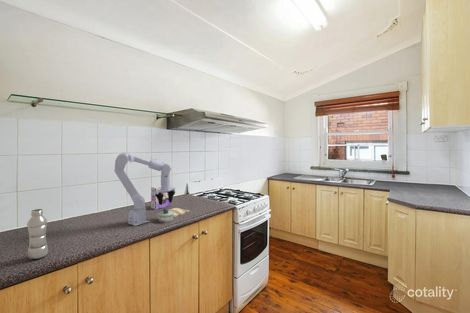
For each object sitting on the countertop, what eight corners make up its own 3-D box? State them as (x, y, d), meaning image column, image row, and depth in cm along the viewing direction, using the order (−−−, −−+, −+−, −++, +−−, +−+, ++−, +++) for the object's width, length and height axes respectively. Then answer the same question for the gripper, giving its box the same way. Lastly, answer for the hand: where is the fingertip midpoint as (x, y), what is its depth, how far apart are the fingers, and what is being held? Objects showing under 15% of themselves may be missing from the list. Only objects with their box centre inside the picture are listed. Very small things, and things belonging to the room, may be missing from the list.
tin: (164, 224, 137) (164, 217, 137) (155, 221, 142) (155, 215, 142) (176, 220, 144) (176, 214, 144) (166, 217, 149) (166, 211, 149)
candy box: (155, 210, 166) (155, 187, 166) (150, 208, 170) (150, 187, 169) (170, 206, 177) (170, 185, 177) (166, 204, 181) (166, 184, 180)
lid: (164, 217, 136) (164, 211, 136) (154, 215, 141) (154, 208, 141) (176, 214, 144) (176, 207, 144) (166, 211, 149) (166, 205, 149)
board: (172, 217, 149) (172, 216, 148) (158, 214, 156) (158, 212, 156) (189, 212, 162) (189, 210, 162) (176, 208, 170) (176, 207, 170)
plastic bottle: (29, 262, 90) (27, 213, 89) (26, 257, 94) (25, 210, 93) (49, 257, 94) (48, 210, 94) (46, 252, 99) (45, 207, 98)
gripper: (160, 184, 136) (160, 206, 136) (178, 181, 148) (178, 202, 149) (152, 183, 140) (152, 205, 140) (171, 180, 152) (171, 200, 152)
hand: (165, 203), depth 145 cm, fingers open, 7 cm apart
